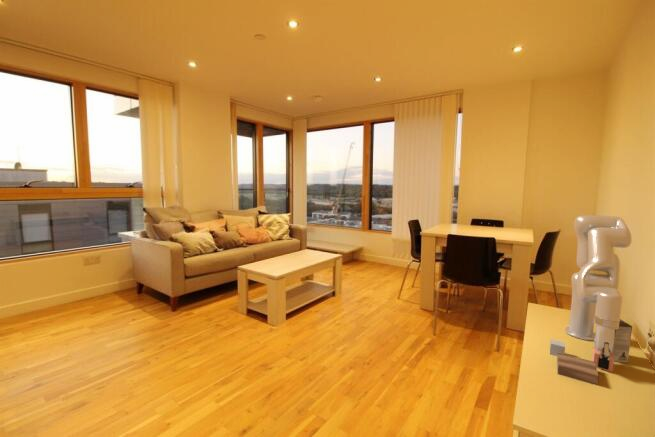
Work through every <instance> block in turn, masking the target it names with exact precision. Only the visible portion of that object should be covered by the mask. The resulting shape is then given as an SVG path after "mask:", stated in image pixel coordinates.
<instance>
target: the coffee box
mask: <svg viewBox="0 0 655 437" xmlns="http://www.w3.org/2000/svg"><path fill="white" fill-rule="evenodd" d="M632 333H633V325H630V324H629V323H627V322H626V321H625V320H623V319H621V318H620V322H619V329H616V330H615V335H614V345H613V351H612V353H613V356H614V362H618V363H619V362H620V363H628V362H629V356H630V348H631V339H632Z"/></svg>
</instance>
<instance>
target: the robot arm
mask: <svg viewBox="0 0 655 437" xmlns="http://www.w3.org/2000/svg"><path fill="white" fill-rule="evenodd" d="M573 226H574V227H573V228H574V232H575V236H576V239H577V246H576V248H577V249H576V266H577V268H579V271H578V272H574V273H573V274H572V275H571V282H570V283H571V303H570V312H569V325H568V326H567V327H565V328H564V332H565V333H566V334H567V335H569V336H571V337H573V338H576V339H579V340H584V341H593V344H594V346H595V348H596V350H600V357H599V361H598V367H600V368H603V369H607V370H608V369H609V361H610V360H609V355H610V353H612V351H613V345H614V335H615V330H616V329H619V322H620V319H621V312H622V304H623V297H622V295H621V292H619V281H620V269H621V268H620V266H621V265H620V257H619V255H617V254H616V253H615V252H614V251H615V249H614V248H621V249H626V248H628V247H630V245H631V244H632V235H631V234H632V233H631V231H630V229H629V227H628V225H627V224H626V222H625V221H624V219H623V218H621V217H619V216H614V215H594V214H593V215H592V214H589V215H588V214H587V215H586V214H584V215H578V216H577V217H575V219H574V222H573ZM591 271H597V272H604V273H595V272H591ZM595 325H596V327H595ZM594 328H595V329H594ZM594 330H595V333H594ZM602 349H603V350H604V351H602ZM602 352H604V354H602Z"/></svg>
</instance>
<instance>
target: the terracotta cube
mask: <svg viewBox="0 0 655 437" xmlns="http://www.w3.org/2000/svg"><path fill="white" fill-rule="evenodd" d="M602 351H604V350H603V349H602ZM602 354H604V352H602ZM599 357H600V350H596V348H595V347H592V354H591V361H593V362H595V365H596V368H597V369H599V370H602V371H606V372H610V373H614V363H615V361H614V356H613V353H610V355H609V360H610V361H609V369H608V370H607V369H603V368H600V367H598V361H599Z"/></svg>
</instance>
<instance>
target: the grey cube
mask: <svg viewBox="0 0 655 437" xmlns="http://www.w3.org/2000/svg"><path fill="white" fill-rule="evenodd" d="M565 350H566V343H565V342H564V341H560V340H556V339H550V345H549V355H551V356H553V357H554V356H555V357H557V356H558V353H562V354H565V352H566V351H565Z"/></svg>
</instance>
